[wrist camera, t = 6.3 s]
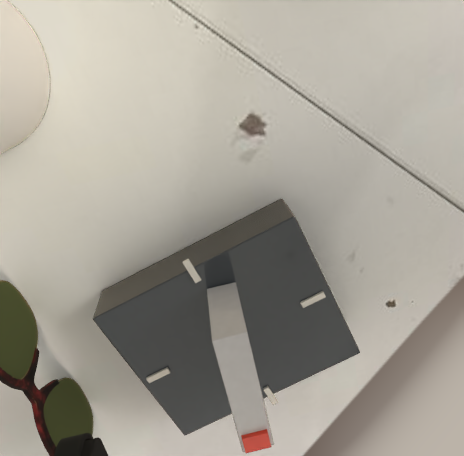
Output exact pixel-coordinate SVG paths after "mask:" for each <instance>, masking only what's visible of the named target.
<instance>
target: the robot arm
mask: <svg viewBox="0 0 464 456" xmlns="http://www.w3.org/2000/svg"><path fill="white" fill-rule="evenodd" d="M54 456H108V454H107V452H106V450H105V447H104V445H103V443H102V441H101V439H100V438H94V439H93V437H92V435H91V434H90V433H84V434H80V435H76V436H71V437H67V438H63V439H61V440H60V441H59V443H58V445H57V447H56V450H55V454H54Z"/></svg>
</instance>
